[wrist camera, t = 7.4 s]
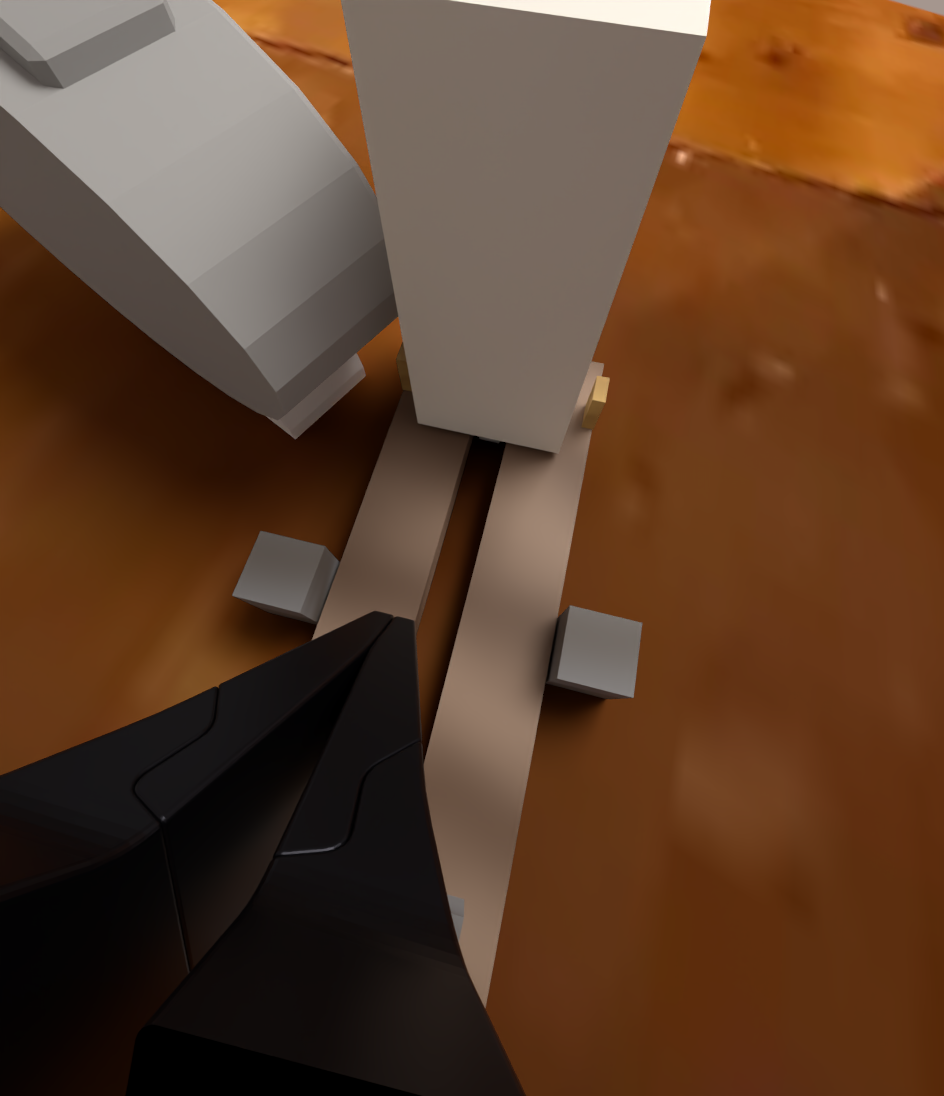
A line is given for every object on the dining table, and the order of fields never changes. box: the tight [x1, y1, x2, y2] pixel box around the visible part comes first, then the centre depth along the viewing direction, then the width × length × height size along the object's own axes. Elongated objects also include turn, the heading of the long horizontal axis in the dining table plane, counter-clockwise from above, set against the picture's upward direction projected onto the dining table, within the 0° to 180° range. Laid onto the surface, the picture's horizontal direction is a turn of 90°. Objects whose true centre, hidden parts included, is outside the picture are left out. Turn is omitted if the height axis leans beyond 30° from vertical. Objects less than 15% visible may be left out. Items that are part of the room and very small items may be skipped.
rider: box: [341, 0, 711, 454], centre depth 14 cm, size 6×6×13 cm
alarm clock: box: [0, 0, 398, 440], centre depth 16 cm, size 23×6×13 cm, turn 51°
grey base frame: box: [232, 342, 642, 1008], centre depth 16 cm, size 26×13×3 cm, turn 166°
